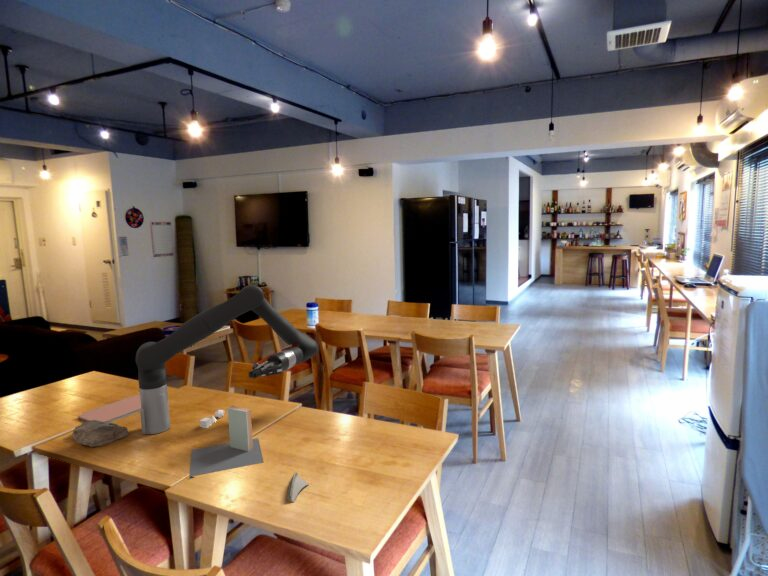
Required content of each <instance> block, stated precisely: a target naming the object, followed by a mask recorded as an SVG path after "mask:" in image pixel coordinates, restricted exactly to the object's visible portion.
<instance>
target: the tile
mask: <svg viewBox="0 0 768 576" xmlns="http://www.w3.org/2000/svg"><path fill="white" fill-rule="evenodd" d="M251 411H252V409H251V408H246V407H241V406H235V405H231V406H229V407H228V408H227V419H228V434H229V435H228V436H229V443H230V447H233V448H237V449H241V450H245V451H250V450H251V449H253V440H252V439H253V426H252V412H251Z"/></svg>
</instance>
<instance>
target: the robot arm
mask: <svg viewBox="0 0 768 576" xmlns="http://www.w3.org/2000/svg"><path fill="white" fill-rule="evenodd" d="M249 311H252V312H253V313H255V314H256V315H257V316H258V317H260V318H261V319H262V321H264V322H265V323H266V324H267V325H268V326H269V327H270V329H272V331H273V332H274V333H275V334H276V335H277V336H278V337H279V338H280V339H281V340H282V341H283V342H284V343H285V344H287V345H289V346H292V345H295V344H297V346H294V347H290V348H287V349H284V350H281V351H279V352H275V353H274V354H271V355H270V356H269V357H267V360H266V361H264V362H261V363H260V364H259V363H258V362H253V363H252V367H251V368H252V369H251V370H250V371H249V372H248V378H249V379H257V378H259V377H265V376H266V377H270V376H275V375H279V374H282V373H284V372H286V371H288V370H290V369H291V368H293V367H294V366H296V365H299V364H302V363H304V362H306V361H308V360H309V359H311V358H312V357H313V356H315V355H316V354H318V351H319V345H318V343H317V341H316V340H315V339H313V338H311V337H310V336H308V335H307V334H305V333H303V332H301V331H300V330H298V329H297V327H295V326H294V325H293V323H291V322H290V321H289V320H288V319H287V318H286V317H284V315H282V313H281V314H280V313H279V312H278V311H277V310H276V309H275V308H274V307H273V306H272V304H270V303H269V301H268V300H267V299H266V298H265V293H264V291H263V290H262V288H260V287H259V286H257V285H255V284H254V285H253V284H250V285H246V286H244V287H242V288H241V290H240V291H239V292H238V293H236V294H235V295H233V296H232V297H230V298H229V299H228V300H226V301H224V302H222V303H219V304H217V305H214V306H212V307H209V308H208V309H206V310H203V311H202V312H200V313H197V314H195V315H194V316H193V317H191V318H189V319H188V320H186V321H185V322H184V323H183V324H181V326H179V327H178V328H177V329H175V331H173V332H172V333H171V334H169V335H168V336H166V337H165V338H163V339H161V340H159V341H148V342H144V343H142V344H141V345H140V346H139V348H138V349H137V351H136V354H135V363H136V366H137V370H138V371H137V372H138V389H139V390H138V391H139V395H140V401H141V409H140V412H139V413H140V422H141V433H142V435H145V434H146V435H154V434H155V435H156V434H160V433H164V432H165V431H168V430H169V429H170V428H171V419H170V416H171V415H170V405H169V396H168V395H169V394H168V385H167V383H168V382H167V369H166V362H168V361H169V360H171V359H172V358H173V357H175V356H176V355H178V354H180V352H182V351H184V350H186V349H188V348H190V347H192V346H194V345H196V344H198V343H199V342H201V341H203V340H205V339H207V338H208V337H209V336H212V335H213V334H215V333H216V332H217V331H219V330H221V329H222V328H223V327H225V326H227V325H228V324H229V323H230V322H232V321H233V320H235V319H236V318H237V317H239V316H241V315H244V314H245V313H247V312H249Z"/></svg>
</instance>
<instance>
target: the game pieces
mask: <svg viewBox="0 0 768 576" xmlns="http://www.w3.org/2000/svg"><path fill="white" fill-rule="evenodd" d="M222 416H223V417H224V416H225V410H224V409H218V410H216V411H214V415H211V417H203V418H202V419H200V420H199V428H200V427H202V428H201V429H208V428H209V426H210V427H211V426H212V424H214V422H215V423H217V422H218V420H217V417H218V418H220V419H221V418H222ZM216 421H217V422H216Z"/></svg>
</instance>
